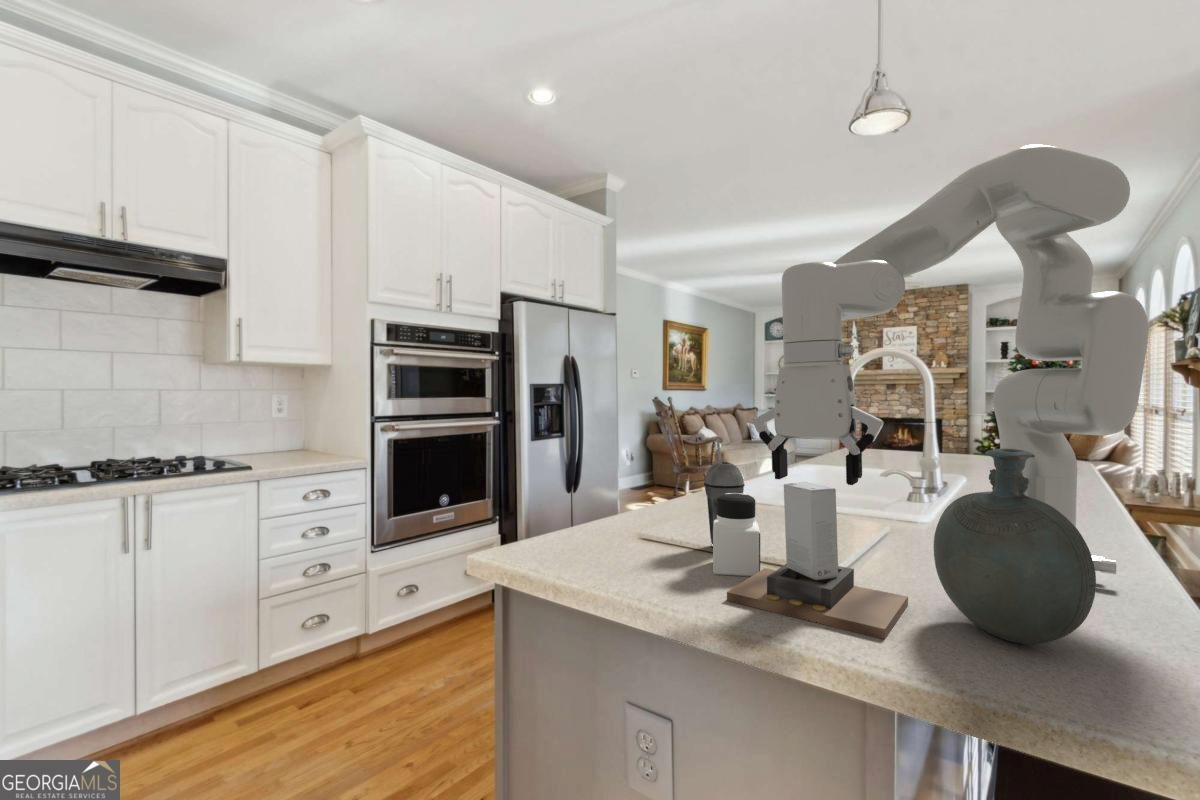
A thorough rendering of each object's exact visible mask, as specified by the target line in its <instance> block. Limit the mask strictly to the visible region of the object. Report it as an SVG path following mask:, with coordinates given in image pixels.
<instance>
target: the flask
mask: <svg viewBox="0 0 1200 800" xmlns="http://www.w3.org/2000/svg"><path fill="white" fill-rule="evenodd" d="M984 455H986V456H988V457H991V458H992V460H993V467H994V468H993V469H989V475H988V481H989V484H991V486H992V487H991V490H992V491H980V492H974V493H973V492H971V493H968V494H964V495H962V496H961V497H958V498H957V499H955V500H954V501H952V502H951V503H950V504H949V505H948V506H947V507H946V508H945V509H944V511H943V512H942V513H941V515H940V517H939V519H938V522H937V524H936V529H935V531H934V536H933V558H934V565H935V570H936V574H937V576H938V579H939V581H940V584H941V586H942V588H943V590H944V591H945V593H946V595H947V597H948V598H949V599H950V601H951V602H952V603H953V605H954V606H955V607H956V608H957V609H958V610H959V611H960V612H961V613H962V614H963V615H964V616H965V617H966V618H967V619H968V620H969V621H970V622H971V623H973V624H974V625H976V626H977V627H979V628H980V629H982V630H983V631H984V632H986V633H989V634H991V635H993V636H994V637H996V638H999V639H1002V640H1004V641H1008V642H1011V643H1015V644H1020V645H1041V644H1046V643H1051V642H1054V641H1055V642H1056V641H1057V640H1060V639H1062V638H1064V637H1066V636H1069V635H1070V634H1072V633H1073V632H1074V631H1076V630H1077V629H1078V628H1080V627H1081V625H1082V624H1083V623H1084V622H1085V621H1086V619H1087V617H1088V615H1089V614H1090V612H1091V610H1092V607H1093V604H1094V602H1095V597H1096V596H1095V595H1096V589H1097V575H1096V571H1095V567H1094V563H1093V559H1092V556H1093V555H1092V553H1091V550H1090V549H1089V546H1088V545H1087V543H1086V540H1085V539H1084V537H1083V536H1082V533H1081V532H1080V531H1079V530H1078V528H1077V526H1076V527H1075V526H1074V525H1073V524H1072V523H1071V522H1070V521H1069V520H1068V519H1067V518H1066V517H1065V516H1064V515H1063V514H1061V513H1060V512H1059V511H1058V510H1056V509H1055V508H1053V507H1052V506H1050V505H1048V504H1046V503H1044V502H1042V501H1039V500H1036V499H1033V498H1030V497H1028V496H1026V495H1025V494H1024V493H1025V492H1026V490H1027V488H1028V486H1027V485H1028V484H1029V479H1028V478H1024V476H1023V474H1022V470H1024V467H1025V463H1026V460H1027V459H1028V458H1032V457H1035V455H1034V454H1032V453H1030V452H1027V451H1023V450H1018V449H1005V448H1004V449H1000V448H995V449H994V448H993V449H990V450H987V451H985V452H984Z"/></svg>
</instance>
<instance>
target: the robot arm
mask: <svg viewBox="0 0 1200 800" xmlns="http://www.w3.org/2000/svg"><path fill="white" fill-rule="evenodd" d="M1130 195H1131V186H1130V182H1129V179H1128V177H1127V175H1126V174H1125V172H1124V171H1123V170H1122V169H1121V167H1119V166H1117V165H1115V164H1114V163H1112V162H1110V161H1107V160H1106V159H1103V158H1100V157H1096V156H1095V157H1094V156H1092V155H1089V154H1085V153H1081V152H1077V151H1074V150H1071V149H1066V148H1063V147H1062V148H1061V147H1059V146H1051V145H1045V144H1044V145H1043V144H1029V145H1024V146H1021V147H1018V148H1015V149H1014V150H1013V149H1012V150H1010V151H1008V152H1006V153H1003V154H1002V155H999V156H996V157H994V158H991V159H988V160H986V161H984V162H982V163H979V164H976V165H975V166H973V167H971V168H969V169H967V170H965V171H964V172H963V173H961V174H960V175H958V176H957V177H956V178H954V179H953V180H952V181H950V182H949V183H947V185H945V186H944V187H942V188H941V189H940V190H938V192H936V193H935V194H933V195H932V196H931V197H929V198H928V199H927V200H926V201H924V202H923V203H921V204H920V205H919V206H917V207H916V208H915V209H914V210H912V211H911V212H909V213H908V214H906V215H905V216H903V217H902V218H899V219H898V220H897V221H894V222H893V223H892V224H890V225H889V226H887V227H886V228H884V229H883V230H880V231H879V232H878V233H876V234H874V235H873V236H872V237H870V238H868V239H867V240H865V241H863V242H862V243H860V244H859V245H857V246H855V247H854V248H853V249H850V251H847V252H846V253H845V254H843V255H842V256H840V257H839V258H838V259H837V260H835V261H834V262H827V261H813V262H803V263H798V264H794V265H791V266H790V267H788V268H787V269H785V270H784V271H783V273H782V276H781V301H782V302H781V306H782V309H781V310H782V311H781V312H782V337H783V338H782V340H783V341H782V342H783V346H782V347H783V367H779V369H778V374H777V380H776V387H775V396H774V408H772V409H770V410H768V411H766V412H765V413H762V414H761V415H759V416H757V417H755V418H754V419H753V420H752V424H753V426H754V428H755V430H756V432H757V433H758V436H759V438H760V440H761V441H762V442H763V443H764V444H765V445H766V446H767V448H768V450H769V451H770V452H771V471H772V473H774V479H775V480H781V479H784V478H786V477H788V475H789V473H788V468H789V467H788V466H789V465H788V464H789V463H788V450H787V448H785V445H786V443H788V442H789V440H790V439H798V440H802V439H804V440H824V441H825V440H827V441H830V440H831V441H833V440H835V441H837V440H838V441H840V443H842V445H843V446H844V447H845V448H846V449H847V450H848V454H846V455H845V475H846V476H845V481H846V482H845V483H846V485H848V486H854V485H855V484H857V483H858V482H859V479H861V478H863V453H864V451H866V450H867V448H868V447H870V446H871V445H872V444H873V443H874V442H875V441H876V439H877V437H878V435H879V434H880V432H881V430H882V429H883V427H884V424H885V423H884V422H885V421H884V420H882V419H881V418H879V417H877V416H875V415H872V414H871V413H869V412H866V411H864V410H862V409H860V408H857V403H856V402H857V401H856V393H855V387H854V381H853V380H854V379H853V375H852V371H851V367H850V364H843V361H845V357H848V356H853V355H854V353H855V352H854V351H855V349H854V345H853V344H847V343H846V344H845V343H844V342H845V341H843V333H842V331H843V329H842V328H843V327H842V322H843V321H844V322H845V321H848V320H854V319H865V318H868V317H876V316H879V315H882V314H885V313H887V312H889V311H891V310H893V309H894V308H895V307H896V306H897V305H898V304H899V303H900V302H901V301H902V299H903V297H904V295H905V290H906V281H905V278H906V277H908V276H911V275H914V274H917V273H920V272H923V271H925V270H928V269H930V268H932V267H934V266H936V265H938V264H940V263H943V262H944V261H947V260H948V259H950V258H951V257H952V256H953V255H956V253H957V252H958V251H960V250H961V249H962V248H964V246H966V245H967V244H969V243H970V242H972V240H974V239H975V238H976V237H977V236H978V235H979V234H981V233H982V232H984V231H986V229H987V228H989V227H990V226H991V225H992V224H994V223H995V226H996V229H997V230H998V232H999V233H1000V235H1001V237H1003V239H1004V240H1006V242H1007V244H1008V245H1010V247H1011V248H1012V249H1013V250H1014V252H1015V254H1016V255H1017V257H1018V258H1019V261H1020V263H1021V266H1022V269H1023V280H1022V281H1023V282H1022V289H1021V296H1020V303H1019V309H1018V316H1017V322H1016V328H1015V338H1014V339H1015V342H1014V343H1015V346H1016V349H1017V351H1018V353H1019V354H1020V355H1021V356H1023V357H1024V358H1026V359H1029V360H1034V361H1039V362H1040V361H1041V362H1064V361H1065V362H1067V361H1081V367H1077V368H1076V367H1073V368H1069V367H1068V368H1063V367H1061V368H1060V367H1056V368H1055V367H1054V368H1029V369H1023V370H1018V371H1014V372H1012V373H1009V374H1008V375H1006V376H1004V378H1002V379H1000V381H999V382H998V383H997V385H996V386H995V388H994V392H993V396H992V398H993V399H992V404H993V410H994V415H995V419H996V420H995V421H996V424H997V430H998V435H999V449H1004V448H1005V449H1018V450H1023V451H1027V452H1030V453H1032V454H1034V455H1035V457H1032V458H1028V459H1027V460H1026V463H1025V467H1024V470H1022V474H1023V476H1024V478H1028V479H1029V484H1028V485H1027V486H1028V488H1027V490H1026V492H1025V493H1024V494H1025V495H1026V496H1028V497H1030V498H1033V499H1036V500H1039V501H1042V502H1044V503H1046V504H1048V505H1050V506H1052V507H1053V508H1055V509H1056V510H1058V511H1059V512H1060V513H1061V514H1063V515H1064V516H1065V517H1066V518H1067V519H1068V520H1069V521H1070V522H1071V523H1072V524H1073V525H1074V526H1075V527H1076V528H1077V495H1078V494H1077V493H1078V485H1077V484H1078V482H1077V481H1078V463H1077V461H1078V460H1077V458H1076V454H1075V451H1074V450H1073V448H1072V446H1071V444H1070V442H1069V441H1068V439H1067V437H1066V436H1065V434H1073V435H1074V434H1075V435H1086V436H1112V435H1115V434H1118V433H1120V432H1122V431H1124V430H1125V429H1126V428H1127V427H1128V426H1129V425H1130V423H1131V422H1132V421H1133V419H1134V417H1135V415H1136V411H1137V409H1138V404H1139V400H1140V394H1141V393H1140V392H1141V387H1142V382H1143V381H1142V380H1143V375H1144V368H1145V363H1146V362H1145V361H1146V355H1147V350H1148V342H1149V332H1150V329H1149V328H1150V327H1149V320H1148V316H1147V313H1146V310H1145V308H1144V306H1143V305H1142V303H1141V301H1140V300H1138V299H1137V298H1136V297H1135V296H1133V295H1130V294H1129V293H1125V292H1123V291H1100V292H1093V293H1092V285H1093V277H1094V276H1093V275H1094V265H1093V262H1092V259H1091V258H1090V256H1089V254H1088V253H1087V252H1086V251H1085V249H1084V248H1083V247H1082V246H1081V245H1080V244H1079V243H1078V242H1077V241H1075V239H1074V238H1072V237H1071V236H1070V235H1069V233H1071V232H1075V231H1079V230H1085V229H1087V228H1091V227H1096V226H1100V225H1102V224H1105V223H1107V222H1110V221H1111V220H1113V219H1115V218H1117V217H1118V215H1120V214H1121V213H1122V212H1123V211H1124V209H1125V208H1126V206H1127V204H1128V202H1129V199H1130ZM771 421H773V422H774V430H775V433H776V434H775V435H774V434H773V432H771V431H770V429H769V427H768V423H769V422H771ZM858 422H860V423H862V424H864V425H866V426H867V430H866V432H865V434H864V435H863V436H862V437H861V438H860V439H859V437H857V436H856V433H857V431H858ZM1091 556H1092V559H1093V563H1094V567H1095V572H1097V571H1098V572H1099V573H1105V574H1110V575H1111V574H1112V575H1117V560H1111V559H1105V557H1103V556H1097V555H1091Z"/></svg>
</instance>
